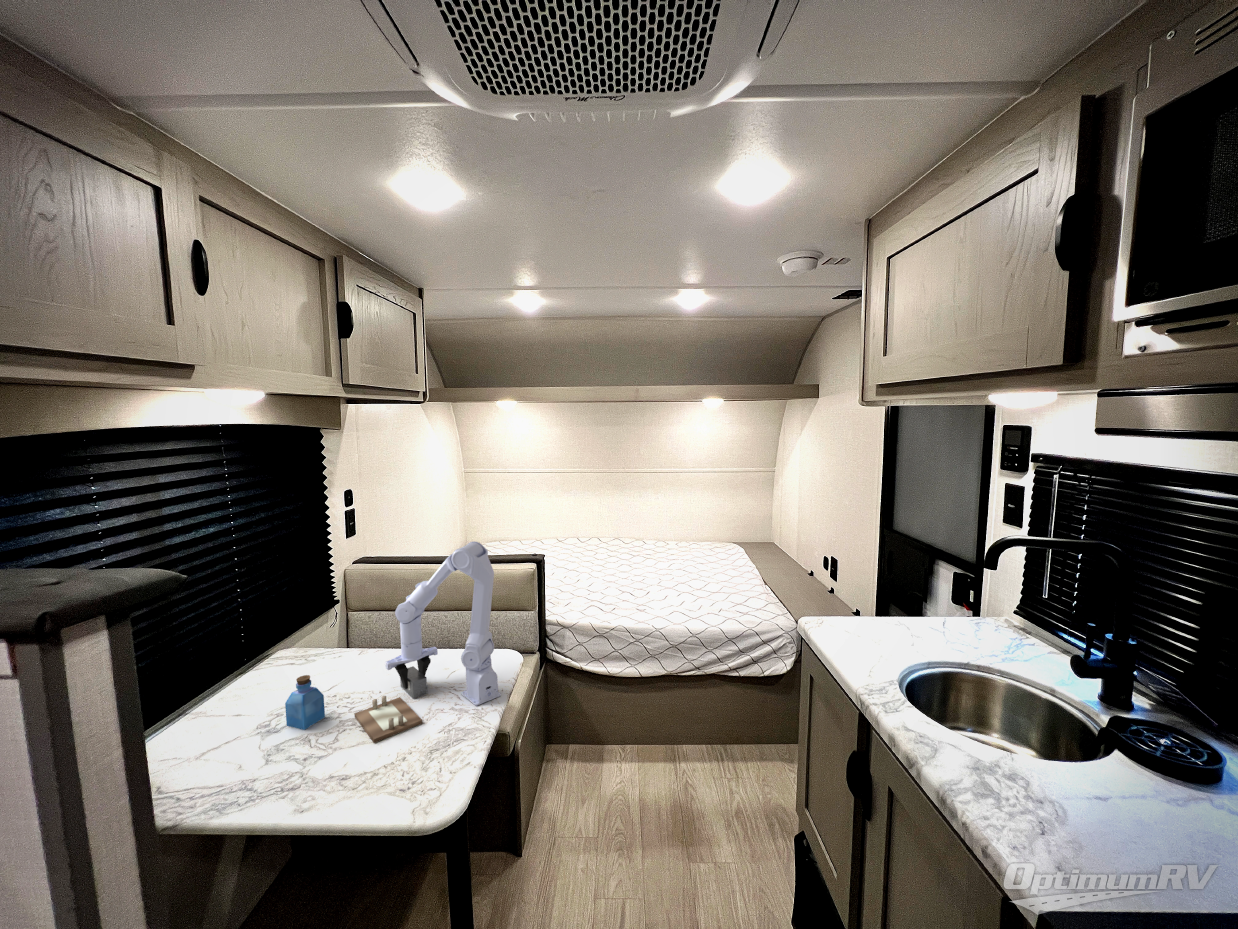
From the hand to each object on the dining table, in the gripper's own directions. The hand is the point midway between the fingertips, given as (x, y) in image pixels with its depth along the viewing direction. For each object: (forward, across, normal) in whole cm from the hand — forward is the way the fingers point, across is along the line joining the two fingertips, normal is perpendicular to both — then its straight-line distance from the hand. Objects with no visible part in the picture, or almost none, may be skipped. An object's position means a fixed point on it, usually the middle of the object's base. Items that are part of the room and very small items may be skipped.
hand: (413, 685), depth 151 cm
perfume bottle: (+2, +27, -4) cm, 27 cm away
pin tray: (+2, +11, +11) cm, 16 cm away
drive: (+2, 0, 0) cm, 2 cm away
